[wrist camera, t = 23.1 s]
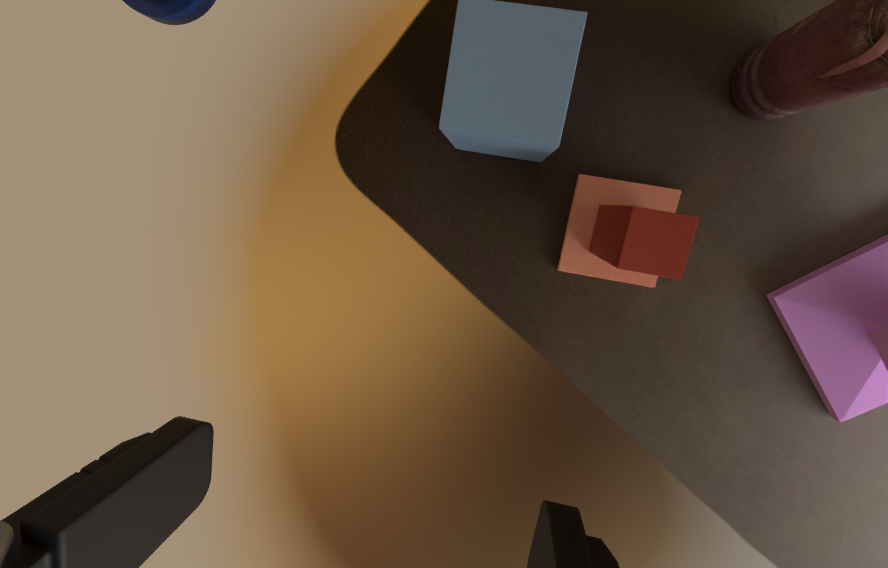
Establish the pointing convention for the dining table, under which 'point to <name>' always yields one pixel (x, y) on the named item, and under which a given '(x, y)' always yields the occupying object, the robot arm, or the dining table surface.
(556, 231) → the dining table surface
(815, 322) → the vase
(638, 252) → the red post
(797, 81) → the brown drink cup
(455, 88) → the blue stand
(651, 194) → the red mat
